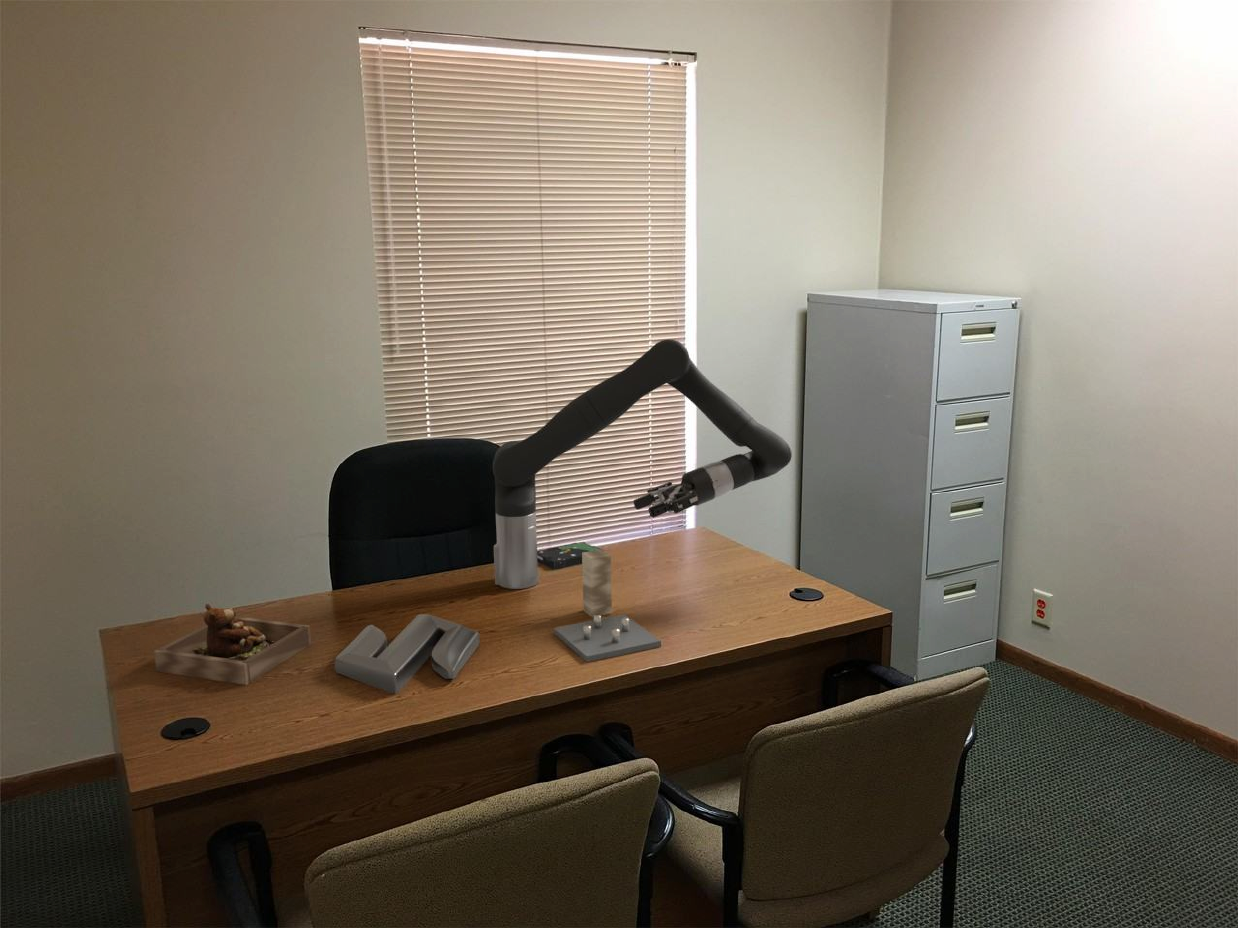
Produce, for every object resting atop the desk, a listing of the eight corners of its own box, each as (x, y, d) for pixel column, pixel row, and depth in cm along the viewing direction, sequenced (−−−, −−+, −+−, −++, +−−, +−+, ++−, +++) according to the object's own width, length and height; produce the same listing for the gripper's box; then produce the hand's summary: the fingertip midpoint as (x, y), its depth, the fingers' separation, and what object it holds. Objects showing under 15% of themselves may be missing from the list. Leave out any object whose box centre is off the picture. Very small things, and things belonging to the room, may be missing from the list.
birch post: (592, 617, 211) (591, 558, 208) (583, 610, 215) (582, 552, 212) (611, 613, 213) (610, 555, 210) (602, 606, 217) (601, 549, 214)
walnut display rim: (156, 671, 187) (154, 651, 186) (227, 632, 205) (225, 614, 204) (246, 685, 181) (244, 664, 180) (311, 644, 199) (309, 625, 198)
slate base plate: (586, 662, 189) (586, 644, 188) (554, 633, 203) (553, 616, 202) (661, 646, 195) (660, 628, 195) (624, 619, 209) (624, 602, 209)
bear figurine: (281, 661, 191) (275, 601, 189) (198, 680, 183) (190, 618, 181) (263, 638, 203) (258, 581, 200) (185, 655, 195) (178, 596, 192)
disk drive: (555, 572, 241) (605, 560, 250) (554, 561, 241) (605, 549, 249) (533, 562, 250) (582, 550, 258) (533, 551, 249) (582, 539, 257)
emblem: (499, 649, 183) (344, 677, 172) (500, 676, 184) (346, 705, 173) (461, 600, 208) (323, 622, 197) (462, 624, 209) (325, 647, 198)
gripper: (689, 461, 223) (625, 487, 218) (718, 472, 210) (650, 499, 205) (697, 492, 225) (634, 518, 220) (727, 504, 212) (660, 532, 207)
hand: (642, 509), depth 213 cm, fingers open, 8 cm apart
